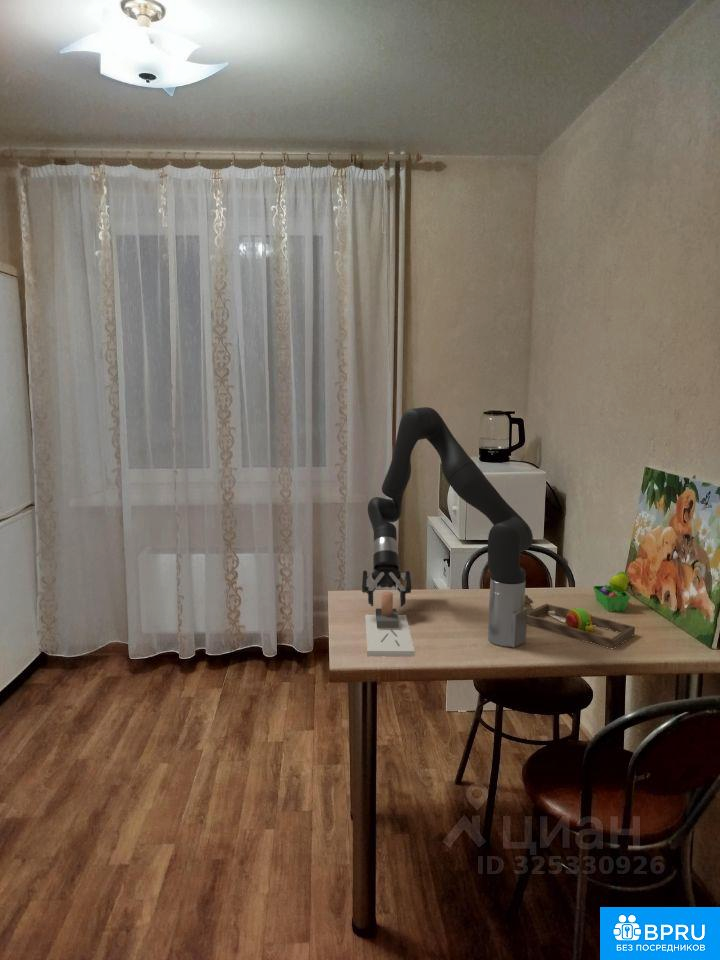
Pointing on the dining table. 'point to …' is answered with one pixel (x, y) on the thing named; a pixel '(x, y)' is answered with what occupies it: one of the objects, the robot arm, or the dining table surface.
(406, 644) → the marked board
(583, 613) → the toy snail
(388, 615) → the sanding block
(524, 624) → the robot arm
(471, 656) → the dining table surface
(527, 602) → the wooden fragment
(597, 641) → the wooden tray
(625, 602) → the fruit basket
